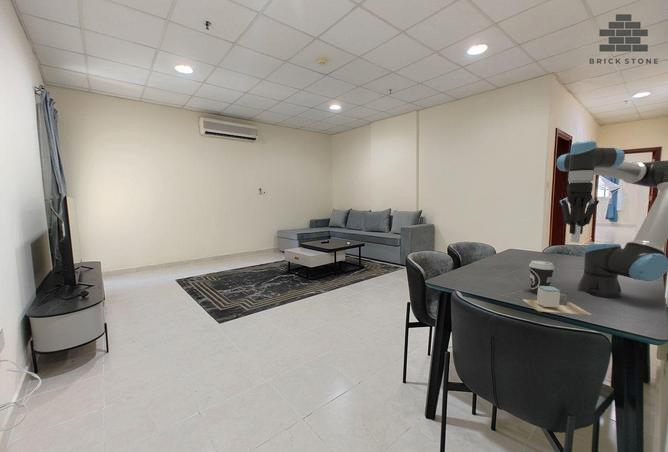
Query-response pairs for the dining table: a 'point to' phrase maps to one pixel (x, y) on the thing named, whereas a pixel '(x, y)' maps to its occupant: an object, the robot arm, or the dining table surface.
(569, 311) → the board
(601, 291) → the robot arm
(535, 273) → the coffee cup
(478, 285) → the dining table surface
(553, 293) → the white and green block
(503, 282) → the dining table surface
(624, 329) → the dining table surface
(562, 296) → the post short
